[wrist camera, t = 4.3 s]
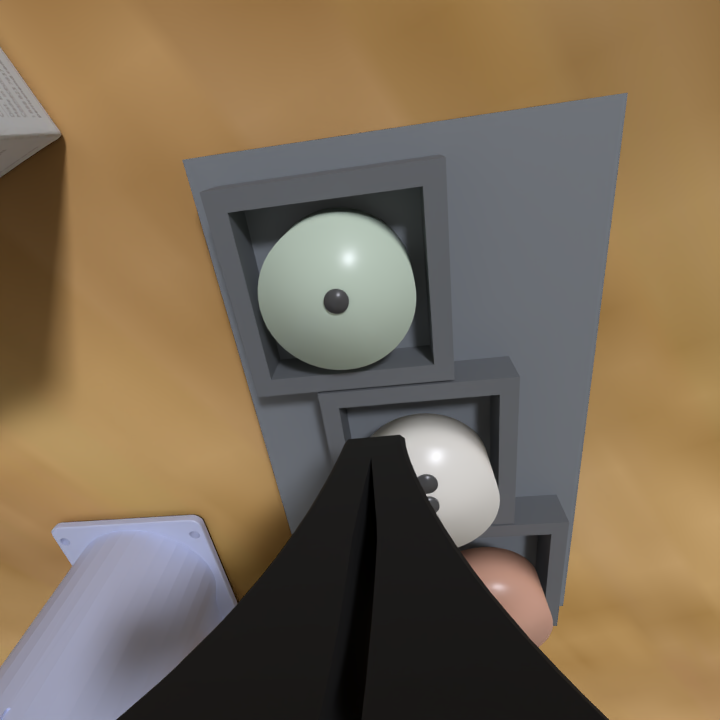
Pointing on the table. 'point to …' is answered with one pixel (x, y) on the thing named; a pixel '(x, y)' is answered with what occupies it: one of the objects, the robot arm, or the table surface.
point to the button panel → (441, 298)
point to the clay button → (514, 588)
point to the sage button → (338, 289)
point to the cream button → (450, 471)
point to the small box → (20, 119)
